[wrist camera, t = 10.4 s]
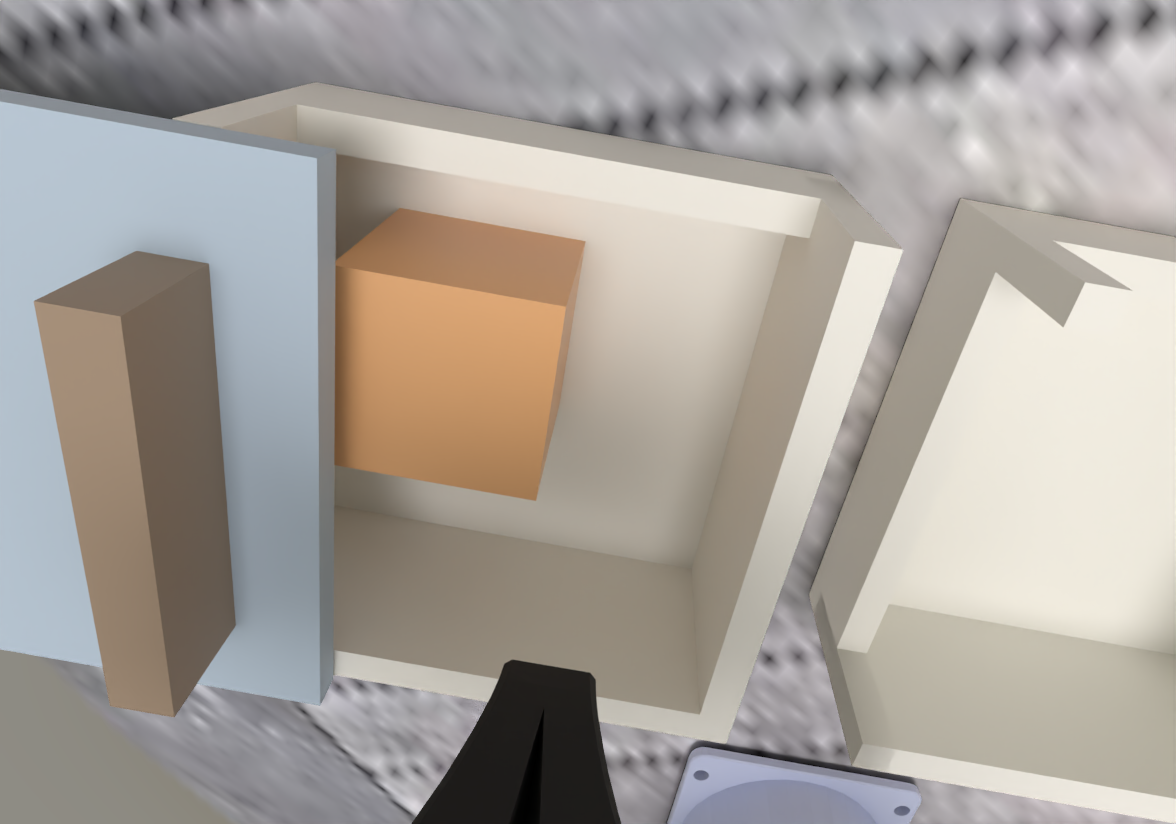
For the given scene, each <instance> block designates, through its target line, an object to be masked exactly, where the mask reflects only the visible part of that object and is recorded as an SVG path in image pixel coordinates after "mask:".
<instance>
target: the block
mask: <svg viewBox="0 0 1176 824" xmlns="http://www.w3.org/2000/svg"><path fill="white" fill-rule="evenodd" d="M585 242H586V241H582V240H576V239H571V238H565V237H559V236H554V235H548V234H543V233H537V232H532V231H526V230H520V229H515V228H509V227H504V226H498V225H493V224H487V223H481V222H476V221H470V220H465V219H459V218H453V217H448V216H442V215H437V214H431V213H426V212H420V211H414V210H409V209H403V208H399V209H398V210H397V211H396V212H394V213H393V214H392V215H391V216H390V217H388V218H387V219H386V220H385V221H383V222H382V223H381V224H380V225H379V226H377V227H376V228H375V229H374V230H373V231H371V232H370V233H369V234H368V235H366V236H365V237H364V238H363V239H362V240H360V241H359V242H358V243H357V244H356V245H354V246H353V247H352V248H351V249H349V250H348V251H347V252H346V253H345V254H343V255H342V256H341V257H340V258H338V259H337V260H336V261H335V442H334V465H337V466H342V467H348V468H354V469H359V470H365V471H370V472H376V473H382V474H387V475H393V476H399V477H404V478H410V479H415V480H421V481H427V482H432V483H438V484H444V485H449V486H455V487H460V488H466V489H472V490H477V491H483V492H489V493H494V494H500V495H505V496H511V497H517V498H522V499H528V500H534V501H536V499H537V495H538V491H539V487H540V483H541V479H542V474H543V470H544V466H545V462H546V458H547V454H548V450H549V446H550V442H551V437H552V433H553V429H554V425H555V421H556V417H557V413H558V409H559V404H560V398H561V392H562V385H563V379H564V373H565V367H566V360H567V354H568V348H569V342H570V335H571V329H572V323H573V317H574V310H575V304H576V298H577V292H578V285H579V279H580V273H581V267H582V261H583V254H584V248H585Z"/></svg>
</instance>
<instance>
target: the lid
mask: <svg viewBox="0 0 1176 824" xmlns="http://www.w3.org/2000/svg"><path fill="white" fill-rule="evenodd" d="M335 253H336V149H332V148H327V147H321V146H315V145H310V144H304V143H299V142H293V141H288V140H282V139H276V138H271V137H265V136H260V135H254V134H249V133H243V132H237V131H232V130H226V129H221V128H215V127H210V126H204V125H199V124H193V123H187V122H182V121H176V120H171V119H165V118H160V117H154V116H148V115H143V114H137V113H132V112H126V111H121V110H115V109H109V108H104V107H98V106H93V105H87V104H82V103H76V102H71V101H65V100H59V99H54V98H48V97H43V96H37V95H32V94H26V93H20V92H15V91H9V90H4V89H0V649H2V650H7V651H14V652H19V653H24V654H30V655H36V656H41V657H47V658H53V659H58V660H64V661H70V662H75V663H81V664H87V665H92V666H98V667H103V671H104V676H105V682H106V687H107V692H108V698H109V703H110V706H113V707H119V708H124V709H130V710H136V711H141V712H147V713H153V714H158V715H164V716H170V717H175V716H176V714H177V713H178V711H179V710H180V708H181V707H182V705H183V704H184V702H185V701H186V699H187V698H188V696H189V695H190V693H191V692H192V690H193V689H194V687H195V686H196V684H200V685H206V686H211V687H217V688H223V689H228V690H234V691H240V692H245V693H251V694H257V695H262V696H268V697H274V698H279V699H285V700H291V701H296V702H302V703H308V704H313V705H319V706H320V705H321V703H322V701H323V699H324V697H325V695H326V692H327V690H328V688H329V686H330V684H331V682H332V680H333V631H334V442H335Z"/></svg>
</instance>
